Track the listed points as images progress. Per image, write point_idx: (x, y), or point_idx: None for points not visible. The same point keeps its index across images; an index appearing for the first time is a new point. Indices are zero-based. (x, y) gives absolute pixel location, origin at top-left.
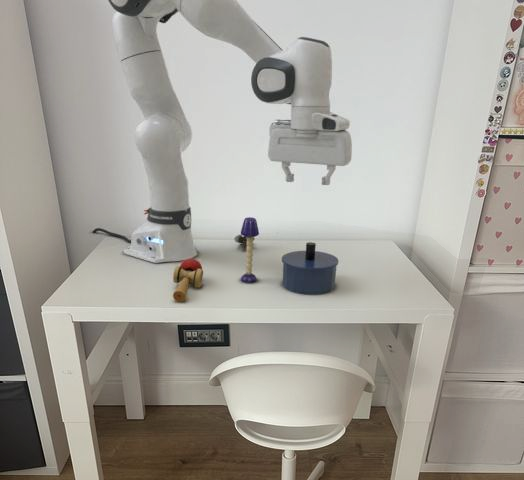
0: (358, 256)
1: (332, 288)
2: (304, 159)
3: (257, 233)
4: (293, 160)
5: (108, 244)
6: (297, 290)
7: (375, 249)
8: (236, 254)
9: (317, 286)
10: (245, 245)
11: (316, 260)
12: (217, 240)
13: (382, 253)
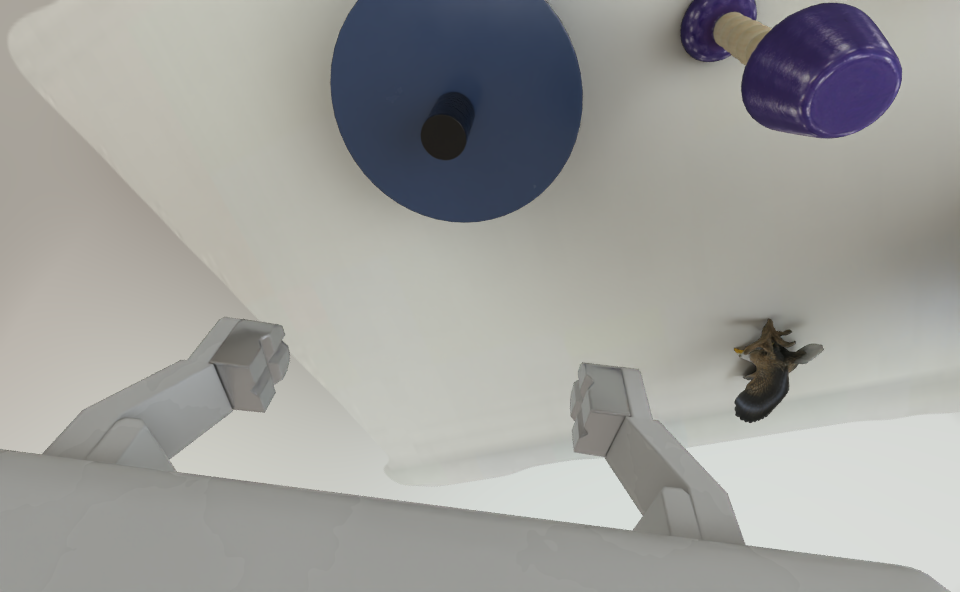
0: (417, 366)
1: None
2: (389, 549)
3: (752, 62)
4: (569, 545)
5: None
6: None
7: (398, 415)
8: (794, 285)
9: None
10: (769, 332)
11: (421, 101)
12: (872, 380)
13: (373, 397)
